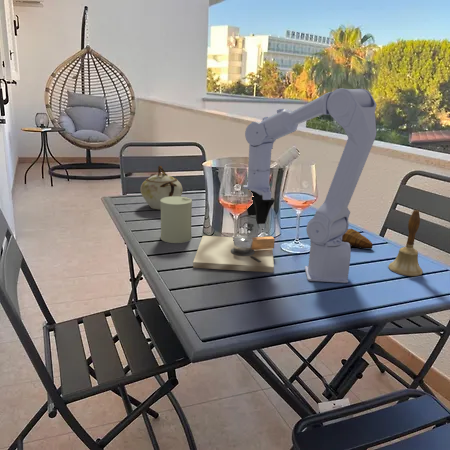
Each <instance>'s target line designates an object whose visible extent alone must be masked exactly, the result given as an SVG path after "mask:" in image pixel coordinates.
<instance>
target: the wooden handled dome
mask: <svg viewBox="0 0 450 450" xmlns="http://www.w3.org/2000/svg"><path fill="white" fill-rule="evenodd" d="M275 239H276V238H274V237H273V236H257V237H256V236H255V237H254V236H253V237H251V236H247V235H238V236H235V238H234V247H233V251H234V252H236V253H240V254H248V253H251V252H252V250H258V249H272V248H273V249H275Z"/></svg>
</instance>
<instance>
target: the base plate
mask: <svg viewBox="0 0 450 450" xmlns="http://www.w3.org/2000/svg"><path fill="white" fill-rule="evenodd" d="M233 237H234V236H232V237H231V236H214V235H202V237H201V240H200V243H199V245H198V248H197V250H196V253H195V256H194V259H193V262H192V266H193V267H192V268H193V269H195V268H196V269H210V270H211V269H212V270H226V271H227V270H229V271H242V272H244V271H245V272H256V273H257V272H259V273H275V270H274V269H275V265H274V264H275V263H274V251H273V249H274V248H272V249H258V250H252V252H251V253H248V254H240V253H236V252H234V251H233V247H234V241H233Z"/></svg>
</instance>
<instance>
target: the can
mask: <svg viewBox="0 0 450 450" xmlns="http://www.w3.org/2000/svg"><path fill="white" fill-rule="evenodd" d="M160 203H161V210H160V240H161V241H163V242H165V243H170V244H182V243H188V242H190V241H191V240H192V238H193V237H192V236H193V235H192V214H193V213H192V211H193V210H192V207H193V206H192V205H193V200H192V198H190V197H186V196H182V195H181V196H170V197H164V198H162V199H161V200H160Z"/></svg>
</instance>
